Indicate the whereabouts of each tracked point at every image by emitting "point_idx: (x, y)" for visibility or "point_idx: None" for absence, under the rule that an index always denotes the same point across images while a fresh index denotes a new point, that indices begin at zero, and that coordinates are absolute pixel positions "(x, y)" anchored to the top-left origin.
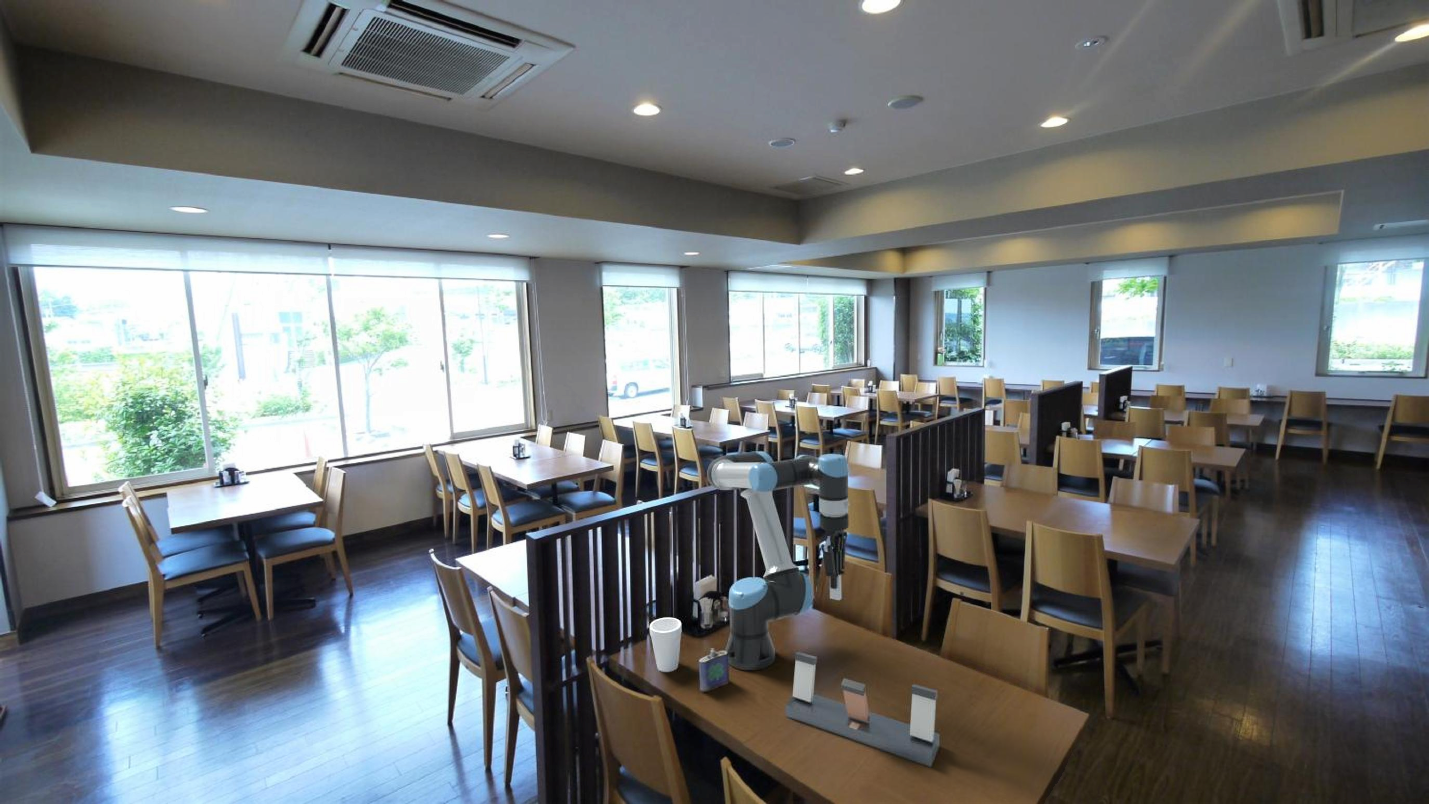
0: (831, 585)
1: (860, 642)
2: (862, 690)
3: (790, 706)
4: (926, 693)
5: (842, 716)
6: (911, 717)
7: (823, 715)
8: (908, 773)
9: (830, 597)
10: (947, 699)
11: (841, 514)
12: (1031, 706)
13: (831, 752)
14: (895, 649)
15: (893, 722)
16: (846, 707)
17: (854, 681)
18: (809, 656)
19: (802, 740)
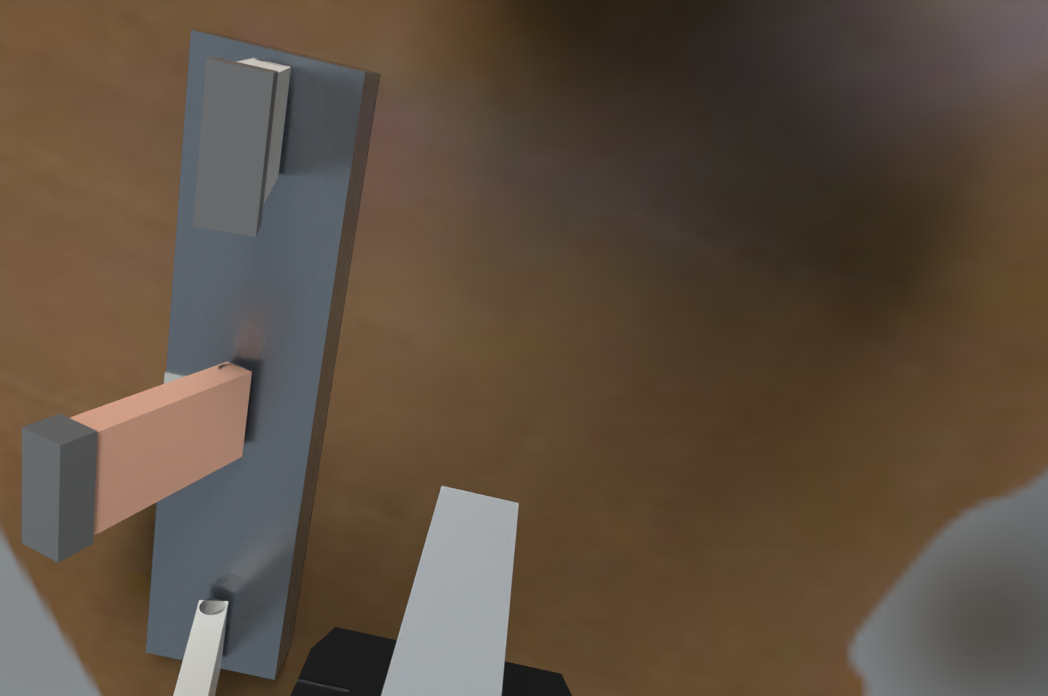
0: (302, 685)
1: (1044, 320)
2: (25, 541)
3: (193, 62)
4: None
5: (225, 335)
6: (185, 651)
7: (195, 248)
8: (105, 556)
9: (438, 500)
10: (586, 681)
11: None
12: None
13: (77, 293)
14: (976, 496)
15: (275, 535)
16: (181, 378)
17: (57, 505)
18: (220, 182)
19: (89, 158)
